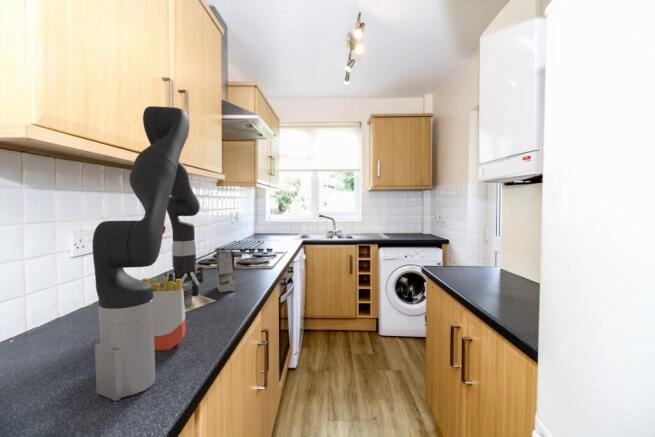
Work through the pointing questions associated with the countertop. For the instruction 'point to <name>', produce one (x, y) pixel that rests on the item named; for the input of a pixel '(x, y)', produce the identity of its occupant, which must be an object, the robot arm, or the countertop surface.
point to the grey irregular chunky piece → (187, 296)
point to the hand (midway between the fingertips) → (185, 299)
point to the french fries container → (168, 313)
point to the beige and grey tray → (194, 299)
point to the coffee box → (225, 270)
